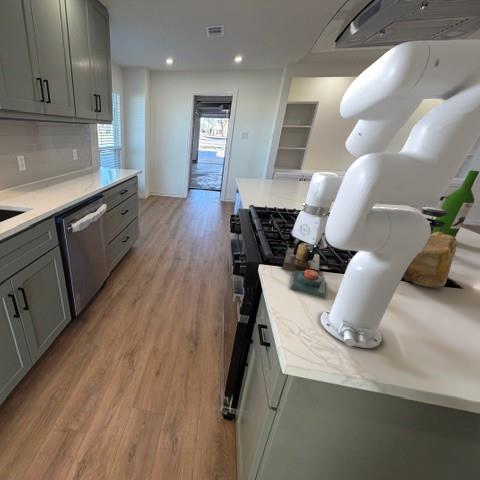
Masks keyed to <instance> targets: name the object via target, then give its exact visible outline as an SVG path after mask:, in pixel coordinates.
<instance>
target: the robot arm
mask: <svg viewBox="0 0 480 480" xmlns="http://www.w3.org/2000/svg"><path fill="white" fill-rule="evenodd" d="M424 100H441V101H442V102H440V103H439V104H438V105H436V106H435V107H433V108H432V109H431V110H429V111H428V112H427V113H426V114H425V115H423V117H421V118H420V120H418V121H417V122H416V124H415V125H414V126H413V128H412V129H411V131H410V132H409V135H408V137H407V140H406V141H405V143H404V145H403V146H402V148H401V150H400V151H398V152H385V151H386V149H387V148H388V147H389V145H391V143H392V141H393V140H394V139H395V138H396V136H397V135H398V134H399V132H400V131H401V130H402V129H403V127H404V126H405V125H406V123H407V122H408V121H410V119H411V117H412V116H413V115H414V113H415V112H416V111H417V110H418V108H419V107H420V105H422V103H423V101H424ZM339 104H340V105H339V114H340V117H342V119H344V120H347V121H348V120H350V121H357V122H356V125H355V126H354V128H353V129H352V131H351V133H350V134H349V136H348V137H347V139H346V141H345V148H346V150H347V152H348V153H350V154H351V155H352V156H353V157H355V158H357V159H356V160H355V161H354V162H352V164H351V165H350V166H349V167H348V169H347V171H346V172H345V175H338V174H337V173H333V172H327V171H317V172H315V173H314V174H312V177H311V179H310V184H309V186H308V191H307V195H306V198H305V202H303V203H302V207H303V209H302V210H300V212H299V214H298V215H297V217H296V220H295V222H294V225H293V228H292V230H291V231H290V235H291V237H292V239H293V241H294V242H293V244H294V248H293V249H294V252H293V254H294V255H296V253H297V250H298V246H299V244H301V243H305V244H310V245H309V251H307V254H306V257H305V261H311V260H313V258H314V255H315V254H316V252H318V251H320V250H323V249H327V248H328V245H327V243H328V244H329V245H330V246H331V247H333V248H335V249H338V250H344V251H352V252H353V251H354V252H356V253H355V254H354V255H353V256H352V258H351V259H350V260H349V262H348V264H347V266H346V269H345V272H344V275H343V277H342V279H341V282H340V285H339V288H338V290H337V292H336V295H335V299H334V301H333V304H332V307H331V309H326V310H325V311H323V312H322V313H321V316H320V323H321V326H322V327H323V328H324V329H325V330H326V331H327V332H328V333H329V334H330V335H331V336H332V337H335V339H337V340H340V341H341V342H344V344H345V345H346V346H349V347H353V346H354V347H358V348H362V349H363V348H364V349H372V348H377V347H378V346H380V344H381V343H382V333H381V331H379V329H378V328H379V325H380V323H381V321H382V319H383V317H384V315H385V313H386V311H387V309H388V307H389V305H390V303H391V301H392V299H393V297H394V295H395V293H396V290H397V288H398V287H399V285H400V283H401V280H402V279H403V275H404V273H405V271H406V269H407V268H408V266H409V265H410V263H411V262H412V260H413V259H414V258H415V257H416V256H417V254H418V253H419V252H420V251H421V250H422V249H423V247H424V246H425V245H426V243H427V241H428V239H429V237H430V233H431V228H430V224H429V223H430V221H428V220H427V219H426V218H427V217H425V216H424V214H422V213H419V212H417V211H415V210H412V209H411V210H410V209H405V208H397V207H381V206H380V207H379V206H376V205H390V206H391V205H392V206H409V207H410V206H414V207H415V206H417V207H418V206H419V207H420V206H426V205H431V204H434V203H436V202H437V201H438V200H440V198H441V196H442V195H443V196H444V194H445V193H446V192H447V190H448V189H449V187H450V185H451V184H452V183H453V181H454V179H455V178H456V176H457V174H458V172H459V171H460V169H461V167H462V166H463V164H464V163H465V161H466V159H467V158H468V156H469V155H470V153H471V152H472V151H473V148H474V146H475V145H476V143H477V141H478V139H479V138H480V39H444V40H443V39H442V40H441V39H440V40H439V39H438V40H433V39H431V40H430V39H429V40H411V41H406V42H402V43H399V44H397V45H396V46H394V47H392V48H390V49H389V50H388V51H387V52H385V53H384V54H383V55H382V56H381V57H379V58H378V59H377V60H376V61H374V63H372V64H371V65H370V66H368V67H367V68H366V69H365V70H364V71H362V72H361V73H360V74H359V75H358V76H357V77H356V78H355V79H354V81H352V83H351V84H350V85H349V87H348V88H347V90H346V91H345V92H344V94H343V97H342V99H341V101H340V103H339ZM332 203H333V204H332ZM331 206H332V207H331Z"/></svg>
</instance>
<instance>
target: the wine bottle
mask: <svg viewBox="0 0 480 480" xmlns="http://www.w3.org/2000/svg"><path fill="white" fill-rule="evenodd" d="M479 173H480V170H473V169H472V170H471V169H470V170H469V171H468V173H467V175H466V177H465V178H464V180H463V182H462V184H461V185H460V187H459V188H458V189H456V190H454V191H453V192H451V193H450V194H448V195H447V196H448V197H450V198H444V199H443V202H442V205H441V206H440V209H443V210H447V211H450V212H451V214H448V215H444V216H442V217H435V219H436V220H439V221H443V222H445V223H446V224H445V226H444V228H443V230H442V233H444V234H445V235H451V236H453V237H454V238H455V239H456V237H457V235H458V233H459V231H460V229H461V228H462V225H464V222H465V220H466V218H467V216H468V215H469V213H470V211H471V209H472V208H473V205H474V204H475V200H476V199H475V197H474V193H473V190H472V188H473V186H474V183H475V182H476V180H477V178H478V175H479ZM436 224H438V223H436ZM441 228H442V227H434V229H433V231H432V232H434V233H435V232H440V230H441Z"/></svg>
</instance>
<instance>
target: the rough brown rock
mask: <svg viewBox="0 0 480 480" xmlns="http://www.w3.org/2000/svg"><path fill="white" fill-rule="evenodd" d="M457 242H458V241H457V238H456V237H455V238H454V237H453V236H451V235H445V234H444V233H442V232H435V233H433V234H430V237H429V239H428V241H427V243H426V245H425V246H424V247H423V249H422V250H421V251H420V252H419V253H418V254H417V256H416V257H415V258H414V259H413V260H412V262H411V263H410V265H409V266H408V268H407V269H406V271H405V273H404V275H403V277H402V279H404V280H405V281H406V282H412V283H413V284H415V285H419V286H422V287H427V288H431V289H439V288H442V287H444V286H445V285H446V283H448V282H447V280H448V278H449V274H450V271H451V267H452V262H453V259H454V257H455V254H456V252H457Z"/></svg>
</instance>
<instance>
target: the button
mask: <svg viewBox="0 0 480 480" xmlns="http://www.w3.org/2000/svg"><path fill="white" fill-rule="evenodd" d="M318 275H319V272H318V273H317V272H315V271H313V270H305V273H304V277H306V278H308V279H311V280H316V279H317V276H318Z"/></svg>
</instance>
